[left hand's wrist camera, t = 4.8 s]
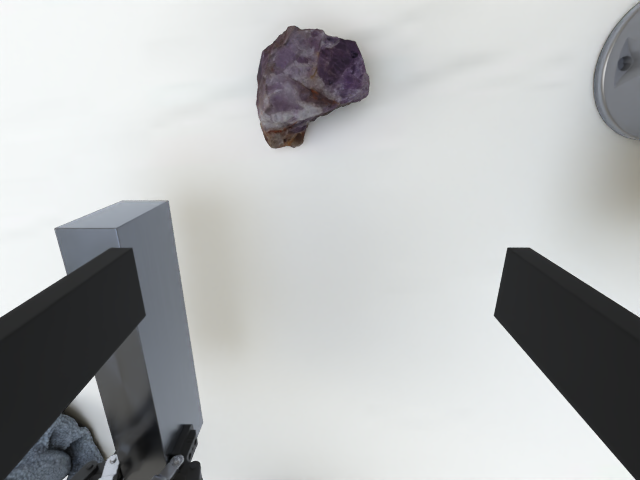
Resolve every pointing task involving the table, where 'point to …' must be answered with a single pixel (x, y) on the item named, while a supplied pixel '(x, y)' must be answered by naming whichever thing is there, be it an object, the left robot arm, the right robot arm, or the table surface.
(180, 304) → the bar
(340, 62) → the rock
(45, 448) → the koala plush
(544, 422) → the table surface
